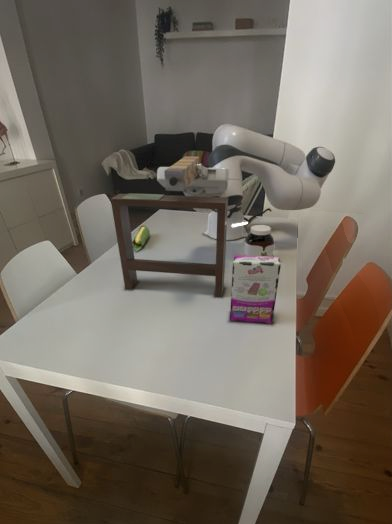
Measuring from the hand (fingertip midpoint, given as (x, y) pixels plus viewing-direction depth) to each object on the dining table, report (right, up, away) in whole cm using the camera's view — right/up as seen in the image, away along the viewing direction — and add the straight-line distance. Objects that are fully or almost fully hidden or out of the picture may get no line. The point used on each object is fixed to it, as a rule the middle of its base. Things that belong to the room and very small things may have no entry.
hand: (188, 166), depth 83 cm
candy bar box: (+17, -39, +2) cm, 43 cm away
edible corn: (-21, -4, +48) cm, 52 cm away
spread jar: (+25, -15, +34) cm, 45 cm away
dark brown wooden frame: (-5, -29, +16) cm, 33 cm away
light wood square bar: (-1, -5, -3) cm, 6 cm away
